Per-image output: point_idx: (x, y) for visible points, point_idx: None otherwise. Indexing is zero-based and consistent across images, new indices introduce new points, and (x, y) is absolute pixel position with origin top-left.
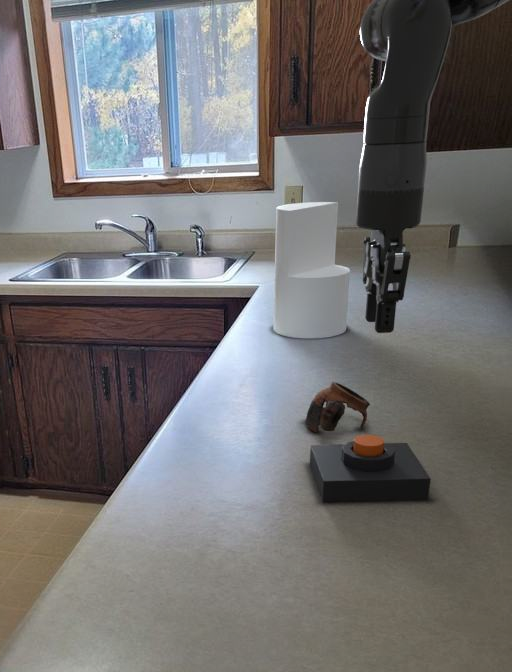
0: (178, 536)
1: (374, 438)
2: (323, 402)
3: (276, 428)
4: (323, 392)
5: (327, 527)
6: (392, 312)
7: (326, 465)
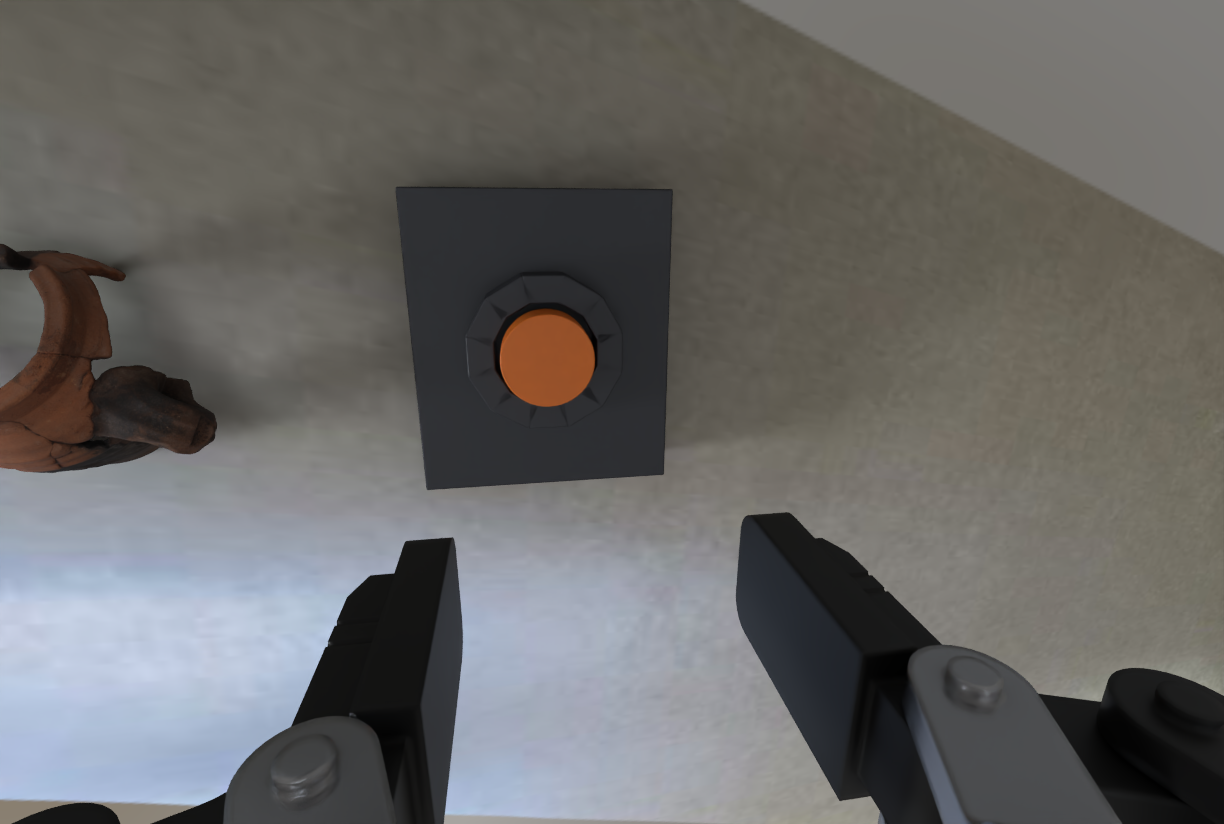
0: (759, 704)
1: (534, 342)
2: (86, 444)
3: (150, 541)
4: (14, 451)
5: (760, 452)
6: (912, 624)
7: (570, 460)
